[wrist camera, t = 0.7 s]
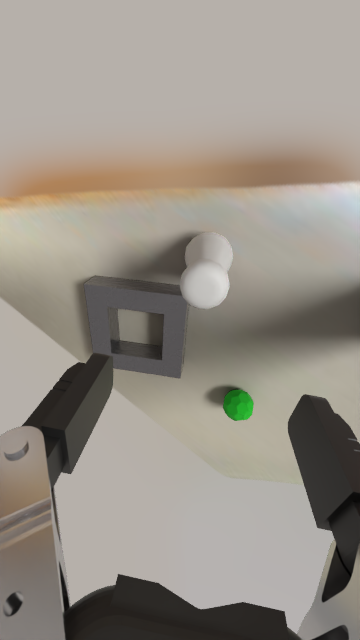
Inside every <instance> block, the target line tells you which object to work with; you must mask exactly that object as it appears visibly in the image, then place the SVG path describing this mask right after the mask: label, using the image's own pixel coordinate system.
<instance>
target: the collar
mask: <svg viewBox="0 0 360 640" xmlns="http://www.w3.org/2000/svg"><path fill="white" fill-rule="evenodd" d="M84 289H85V296H86V304H87V311H88V318H89V325H90V333H91V340H92V347H93V353H100V354H105V355H110V356H113V368H116V369H123V370H129V371H136V372H142V373H149V374H155V375H162V376H168V377H175V378H180V377H181V372H182V368H183V361H184V351H185V340H186V330H187V319H188V309H189V304H188V302H187V301H186V300H185V299H184V298H183V296H182V293H181V289H180V285H171V284H163V283H154V282H146V281H137V280H129V279H120V278H112V277H103V276H94V277H93V278H91V279H90V280H89V281H87V282H86V283H85V284H84ZM117 308H119V309H127V310H135V311H142V312H150V313H158V314H164V325H163V347H161V346H154V345H147V344H140V343H133V342H126V341H120V340H119V325H118V310H117Z"/></svg>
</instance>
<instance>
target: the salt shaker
mask: <svg viewBox="0 0 360 640" xmlns="http://www.w3.org/2000/svg"><path fill="white" fill-rule="evenodd" d="M232 260H233V252H232V247H231V245H230V244H229V242H228V241H227V240H226V238H225V237H223V236H221V235H219V234H217V233H215V232H203V233H201V234H199V235H198V236H196V237H194V238H193V239H192V240H191V241H190V243H189V244H188V245H187V247H186V252H185V261H186V266H187V268H186V269H185V271H184V272H183V273H182V276H181V281H180V289H181V293H182V296H183V298H184V299H185V300H186V301H187V302H188V304H189V305H191V306H194V307H196V308H198V309H210V308H213V307H216V306H218V305H219V304H220V303H221V302H222V301H223V300H224V299H225V298H226V296H227V293H228V289H229V286H230V284H229V279H228V274H227V272H228V270H229V269H230V266H231V263H232Z"/></svg>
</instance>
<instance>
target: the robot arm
mask: <svg viewBox="0 0 360 640" xmlns="http://www.w3.org/2000/svg"><path fill="white" fill-rule="evenodd" d="M112 386H113V356H110V355H105V354H100V353H93V354H92V356H91V357H90V358H89V360H88V361H87V362H86V364H85V363H80V362H79V363H77V364H75V365H74V366H72V367H71V368H69V369H67V371H66V372H65V373H64V374H63V375H62V377H61V378H60V380H59V381H58V382H57V383H56V384H55V386H54V387H53V389H52V390H50V392H49V393H48V394H47V396H46V397H45V398H44V399H43V401H42V402H41V403H40V404H39V406H38V407H37V408H36V409H35V411H34V412H33V413H32V414H31V416H30V417H29V418H28V419H27V421H26V422H25V423H24V424H23V425H22V426H21V427H17V428H14V429H11V430H9V431H7V432H5V433H4V434H2V435H1V436H0V640H360V444H359V442H357V438H356V437H355V435H354V433H353V431H352V430H351V428H350V426H349V425H348V424H347V423H346V422H345V421H344V420H343V419H342V418H341V417H340V416H339V415H338V414H335V413H334V412H333V410H332V408H331V406H330V404H329V402H328V401H327V400H326V399H325V398H322V397H317V396H312V395H306V394H305V395H303V396H302V397H301V399H300V401H299V402H298V404H297V406H296V408H295V409H294V411H293V413H292V415H291V416H290V418H289V422H288V433H289V437H290V440H291V443H292V447H293V450H294V453H295V456H296V460H297V463H298V466H299V469H300V473H301V476H302V479H303V482H304V486H305V489H306V492H307V495H308V499H309V502H310V505H311V508H312V512H313V515H314V518H315V521H316V525H317V528H321V529H325V530H330V531H332V533H333V536H334V538H335V540H334V541H333V542H332V543H331V545H330V549H329V553H328V555H327V559H326V562H325V566H324V569H323V572H322V576H321V579H320V582H319V586H318V589H317V592H316V596H315V599H314V602H313V604H312V606H311V608H310V610H309V611H308V613H307V614H306V616H305V617H304V620H303V621H302V623H301V626H300V628H299V630H298V633H297V634H295V633H294V632H293V631H292V630H291V629H289V628H288V627H287V624H286V617H285V612H284V611H280V610H275V609H271V608H267V607H262V606H258V605H253V604H249V603H244V602H242V603H236V604H231V605H225V606H220V607H214V608H209V609H198V608H196V607H194V606H193V605H191V604H190V603H188V602H187V601H185V600H183V599H182V598H180V597H179V596H177V595H176V594H174V593H173V592H171V591H169V590H168V589H166V588H165V587H163V586H162V585H160V584H159V583H155V582H151V581H146V580H142V579H138V578H133V577H129V576H124V575H120V574H118V577H117V581H116V585H113V586H107V587H104V588H101V589H99V590H96V591H94V592H92V593H90V594H88V595H87V596H85V597H83V598H82V599H80V600H79V601H77V602H76V603H75V604H74V605H72V606H71V605H70V598H69V590H68V583H67V575H66V568H65V562H64V556H63V550H62V543H61V535H60V528H59V520H58V513H57V505H56V497H55V489H54V485H55V483H56V481H57V479H58V477H59V475H60V473H61V472H63V473H68V474H71V473H72V471H73V469H74V467H75V465H76V463H77V461H78V459H79V457H80V455H81V453H82V451H83V449H84V447H85V445H86V443H87V441H88V439H89V437H90V435H91V433H92V431H93V429H94V427H95V425H96V423H97V421H98V418H99V416H100V414H101V412H102V410H103V408H104V406H105V404H106V402H107V400H108V398H109V396H110V393H111V390H112Z"/></svg>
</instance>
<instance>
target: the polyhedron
mask: <svg viewBox="0 0 360 640" xmlns="http://www.w3.org/2000/svg"><path fill="white" fill-rule="evenodd" d="M223 408H224V411H225V413H226V414H227V416H228V417H229V418H231V419H233V420H234V421H238V420H247V419H248V418H249V417H250V416H251V415H252V411H253V400H252V399H251V397H250V395H249V394H248V393H247V392H245V391H243V390H232V391H230V392H229V393H228V394H227V395H226V396H225V398H224V404H223Z"/></svg>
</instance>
